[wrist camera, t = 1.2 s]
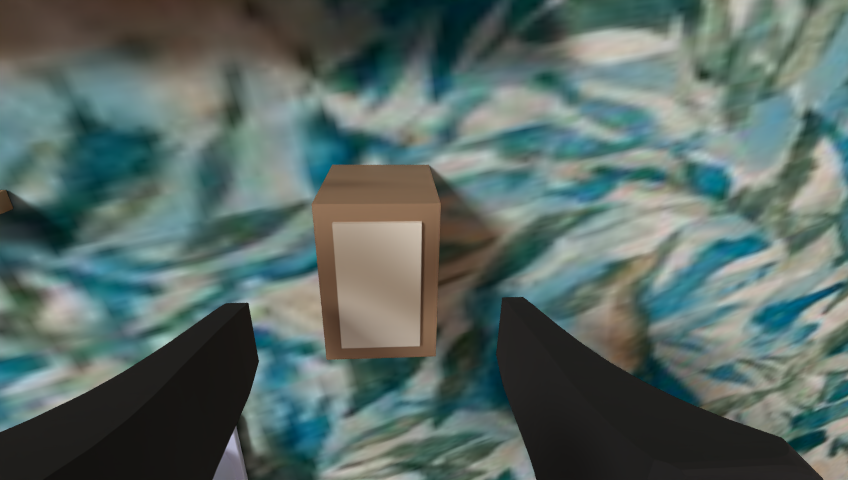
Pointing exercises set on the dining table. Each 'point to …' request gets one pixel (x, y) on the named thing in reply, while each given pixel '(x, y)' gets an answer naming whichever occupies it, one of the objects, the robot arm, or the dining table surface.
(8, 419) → the dining table surface
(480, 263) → the dining table surface
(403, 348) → the cabinet block
